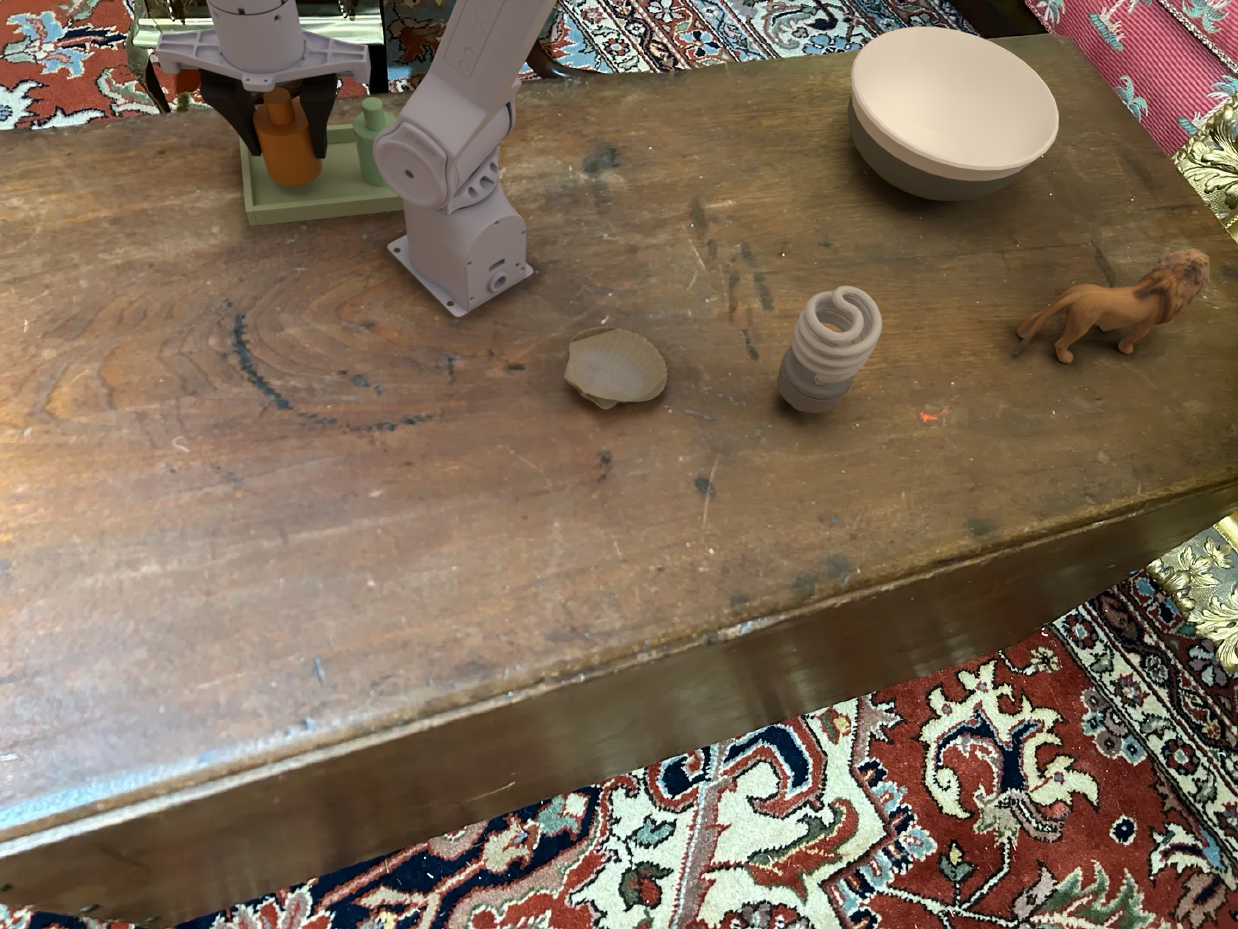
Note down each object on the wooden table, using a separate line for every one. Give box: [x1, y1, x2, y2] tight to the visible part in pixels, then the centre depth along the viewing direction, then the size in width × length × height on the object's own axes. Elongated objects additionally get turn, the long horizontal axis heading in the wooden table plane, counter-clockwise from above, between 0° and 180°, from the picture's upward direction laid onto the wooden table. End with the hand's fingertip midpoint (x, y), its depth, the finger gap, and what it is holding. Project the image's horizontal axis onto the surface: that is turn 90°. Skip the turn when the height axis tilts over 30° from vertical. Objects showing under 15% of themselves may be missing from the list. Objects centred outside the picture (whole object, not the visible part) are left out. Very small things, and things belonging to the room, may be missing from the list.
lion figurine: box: [1011, 247, 1211, 364], centre depth 73 cm, size 15×5×9 cm, turn 110°
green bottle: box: [352, 96, 397, 187], centre depth 74 cm, size 4×4×7 cm
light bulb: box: [776, 285, 883, 414], centre depth 66 cm, size 6×6×12 cm
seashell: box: [563, 325, 669, 411], centre depth 69 cm, size 8×3×8 cm
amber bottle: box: [253, 86, 322, 186], centre depth 72 cm, size 4×4×7 cm
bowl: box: [846, 26, 1060, 202], centre depth 83 cm, size 19×19×8 cm
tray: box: [238, 123, 404, 227], centre depth 77 cm, size 19×9×2 cm, turn 105°
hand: (289, 148), depth 73 cm, fingers closed on amber bottle, 4 cm apart
